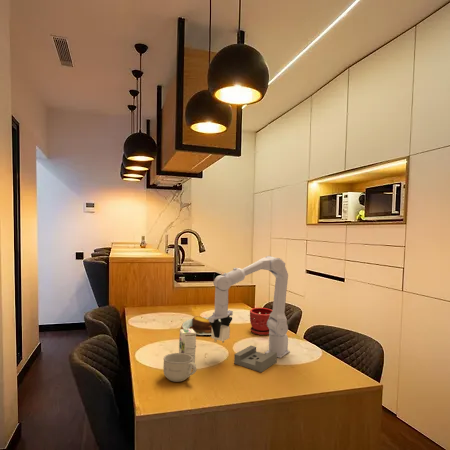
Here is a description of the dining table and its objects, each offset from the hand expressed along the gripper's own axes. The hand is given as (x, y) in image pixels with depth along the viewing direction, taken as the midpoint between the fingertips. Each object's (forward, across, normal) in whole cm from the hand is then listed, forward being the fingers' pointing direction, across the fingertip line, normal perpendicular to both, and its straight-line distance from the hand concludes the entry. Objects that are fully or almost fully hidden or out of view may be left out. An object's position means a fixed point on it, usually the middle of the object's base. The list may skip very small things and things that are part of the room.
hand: (220, 335), depth 144 cm
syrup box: (+11, +14, -6) cm, 19 cm away
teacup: (+11, +24, 0) cm, 26 cm away
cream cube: (+3, 0, 0) cm, 3 cm away
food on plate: (+11, -28, -31) cm, 43 cm away
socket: (+10, -7, +14) cm, 18 cm away
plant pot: (+11, -43, -4) cm, 44 cm away
